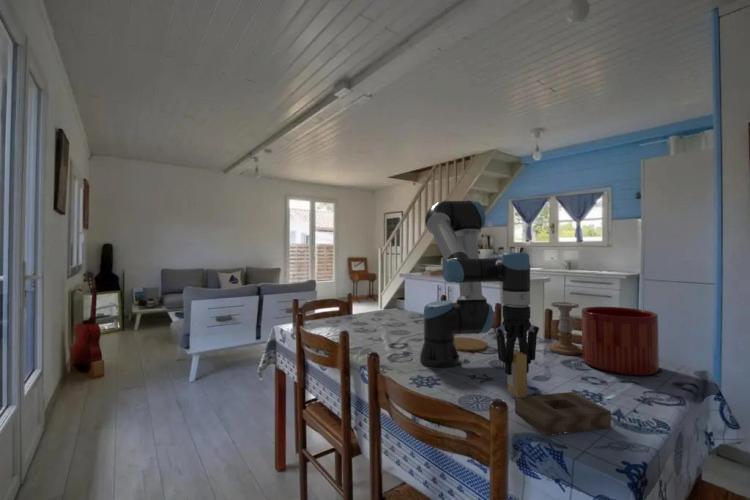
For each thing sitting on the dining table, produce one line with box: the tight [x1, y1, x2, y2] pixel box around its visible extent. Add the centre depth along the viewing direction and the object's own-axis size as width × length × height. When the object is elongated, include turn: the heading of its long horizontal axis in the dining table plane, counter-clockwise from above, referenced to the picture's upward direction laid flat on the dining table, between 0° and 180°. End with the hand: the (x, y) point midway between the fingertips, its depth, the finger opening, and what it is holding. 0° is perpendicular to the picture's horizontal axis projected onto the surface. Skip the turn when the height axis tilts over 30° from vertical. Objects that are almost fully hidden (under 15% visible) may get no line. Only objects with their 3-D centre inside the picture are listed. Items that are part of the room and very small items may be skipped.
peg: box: [507, 349, 528, 398], centre depth 102 cm, size 3×5×12 cm, turn 11°
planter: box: [581, 306, 660, 377], centre depth 128 cm, size 23×23×20 cm
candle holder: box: [549, 301, 582, 356], centre depth 148 cm, size 12×12×20 cm
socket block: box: [514, 391, 612, 437], centre depth 88 cm, size 18×12×4 cm, turn 100°
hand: (517, 384), depth 102 cm, fingers closed on peg, 3 cm apart
